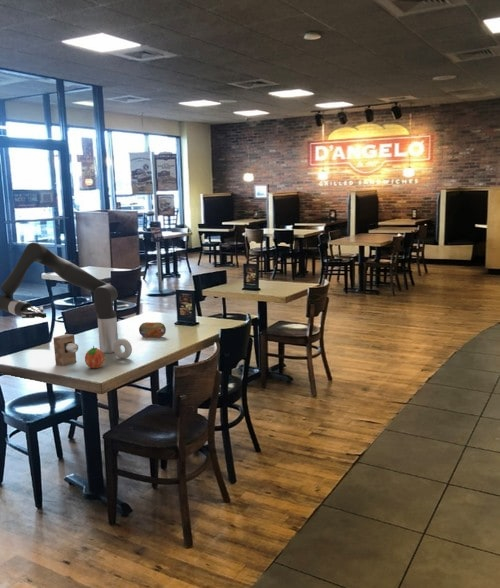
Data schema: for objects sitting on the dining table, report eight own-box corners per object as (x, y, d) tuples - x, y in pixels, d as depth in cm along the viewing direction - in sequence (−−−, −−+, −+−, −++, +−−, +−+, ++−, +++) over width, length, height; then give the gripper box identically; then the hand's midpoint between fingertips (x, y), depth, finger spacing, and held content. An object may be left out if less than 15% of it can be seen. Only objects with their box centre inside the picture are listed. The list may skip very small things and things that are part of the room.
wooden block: (55, 364, 272) (53, 337, 270) (68, 360, 279) (66, 333, 277) (63, 365, 270) (60, 338, 268) (76, 361, 277) (74, 334, 274)
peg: (58, 351, 273) (57, 342, 272) (65, 349, 276) (64, 340, 276) (72, 353, 268) (71, 344, 268) (78, 351, 272) (78, 342, 271)
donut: (112, 358, 279) (111, 338, 278) (116, 357, 282) (115, 336, 281) (129, 360, 275) (128, 339, 274) (134, 358, 278) (132, 338, 277)
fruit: (107, 364, 270) (106, 343, 268) (101, 370, 260) (99, 348, 258) (89, 365, 270) (87, 343, 268) (82, 371, 261) (80, 349, 259)
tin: (139, 337, 322) (138, 322, 320) (141, 336, 325) (140, 321, 323) (164, 338, 318) (163, 323, 317) (167, 336, 321) (166, 321, 320)
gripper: (8, 304, 279) (33, 312, 271) (30, 297, 290) (55, 304, 282) (9, 319, 282) (34, 327, 274) (31, 311, 293) (56, 319, 285)
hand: (45, 315), depth 278 cm, fingers closed
